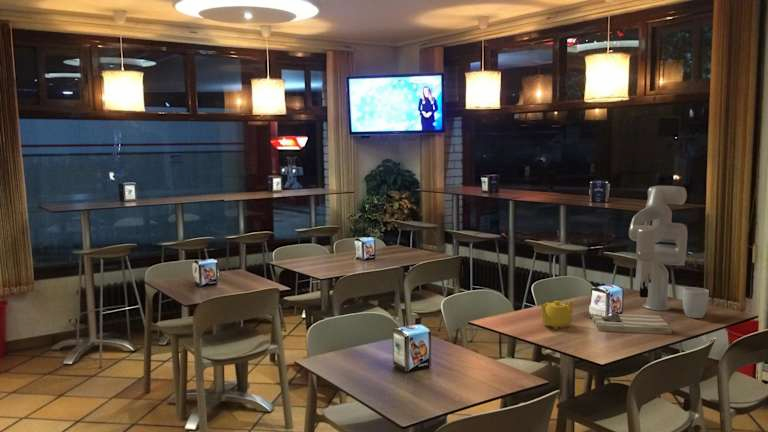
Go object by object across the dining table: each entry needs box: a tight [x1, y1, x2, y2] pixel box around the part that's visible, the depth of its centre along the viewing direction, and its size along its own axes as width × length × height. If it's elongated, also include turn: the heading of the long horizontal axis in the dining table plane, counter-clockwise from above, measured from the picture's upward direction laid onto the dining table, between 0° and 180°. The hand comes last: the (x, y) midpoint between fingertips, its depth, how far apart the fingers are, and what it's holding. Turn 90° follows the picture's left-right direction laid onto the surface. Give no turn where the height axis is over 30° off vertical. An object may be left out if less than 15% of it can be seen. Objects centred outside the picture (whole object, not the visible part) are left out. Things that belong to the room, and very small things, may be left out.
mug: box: [682, 286, 710, 319], centre depth 307 cm, size 15×11×13 cm
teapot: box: [540, 298, 574, 330], centre depth 291 cm, size 20×15×12 cm
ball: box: [606, 311, 620, 322], centre depth 292 cm, size 6×6×6 cm
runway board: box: [590, 312, 673, 335], centre depth 292 cm, size 20×30×2 cm, turn 81°
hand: (643, 296), depth 290 cm, fingers closed
